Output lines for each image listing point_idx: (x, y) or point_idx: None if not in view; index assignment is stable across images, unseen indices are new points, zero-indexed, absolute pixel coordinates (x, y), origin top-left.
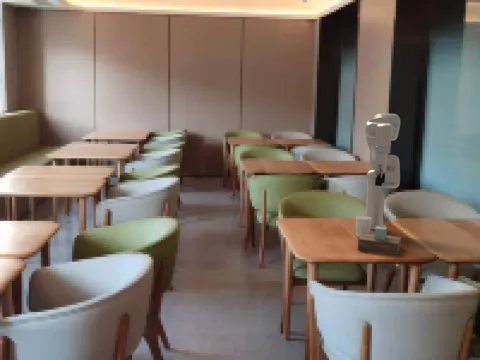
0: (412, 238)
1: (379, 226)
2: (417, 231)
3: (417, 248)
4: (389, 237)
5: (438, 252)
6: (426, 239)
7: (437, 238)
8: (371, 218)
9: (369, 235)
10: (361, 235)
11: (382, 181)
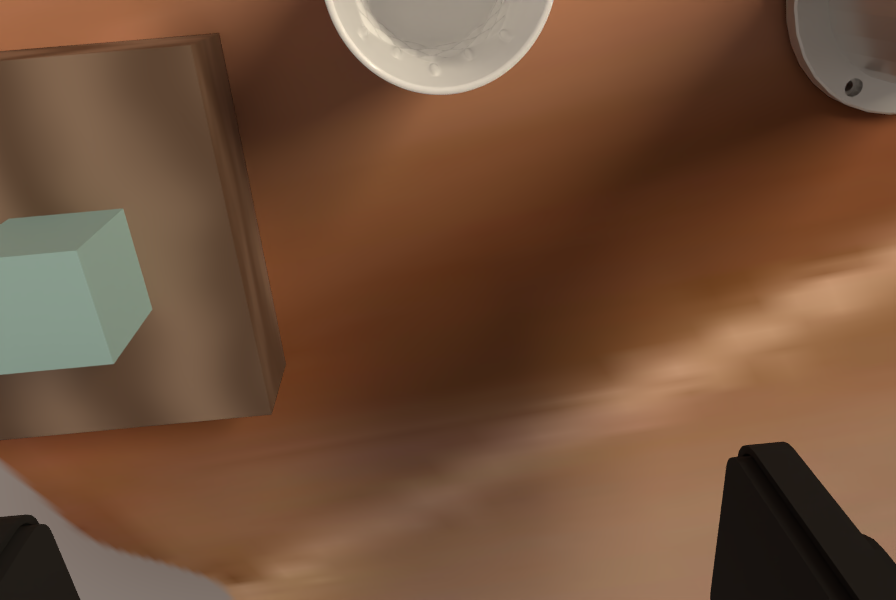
0: (609, 388)
1: (80, 286)
2: (865, 379)
3: (328, 467)
4: (172, 334)
5: (316, 582)
6: (629, 473)
7: (695, 525)
8: (454, 90)
9: (94, 144)
10: (23, 61)
11: (731, 596)
